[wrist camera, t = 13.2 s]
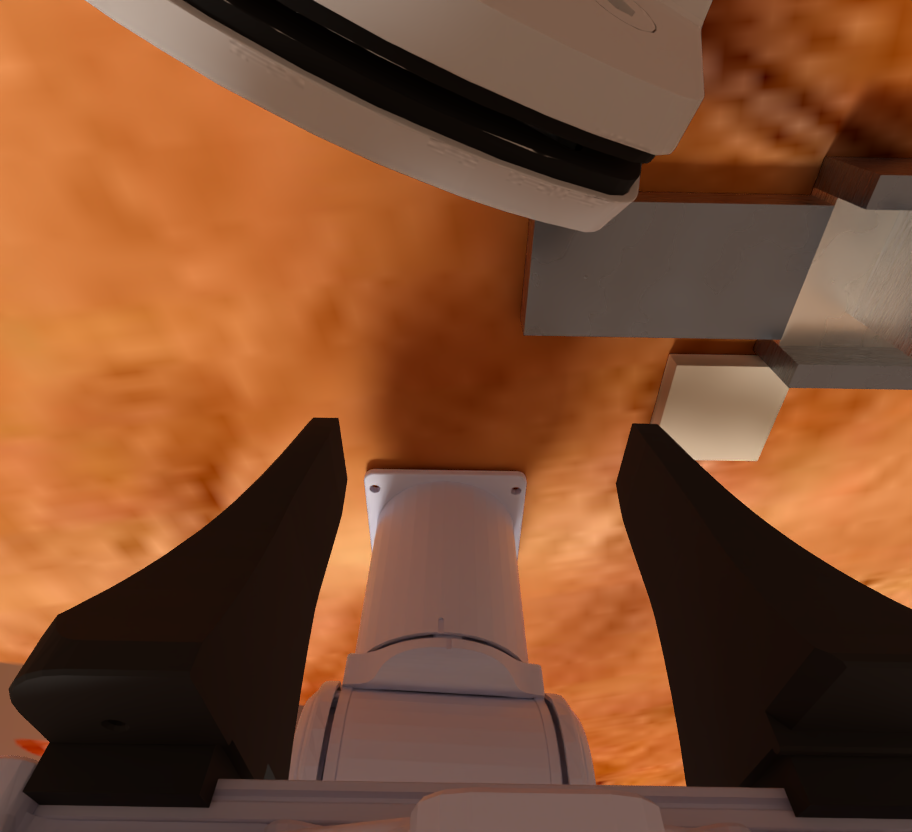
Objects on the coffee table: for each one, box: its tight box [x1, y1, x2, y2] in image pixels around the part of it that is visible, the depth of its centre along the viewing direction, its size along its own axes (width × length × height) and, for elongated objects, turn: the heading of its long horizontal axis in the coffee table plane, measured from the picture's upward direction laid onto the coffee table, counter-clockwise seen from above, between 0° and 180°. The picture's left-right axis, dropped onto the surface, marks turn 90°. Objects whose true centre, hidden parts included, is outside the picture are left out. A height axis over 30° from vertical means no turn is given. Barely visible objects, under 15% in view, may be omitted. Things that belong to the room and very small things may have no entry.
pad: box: [650, 354, 789, 461], centre depth 24 cm, size 5×5×1 cm
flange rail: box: [520, 157, 912, 390], centre depth 20 cm, size 8×19×3 cm, turn 89°
